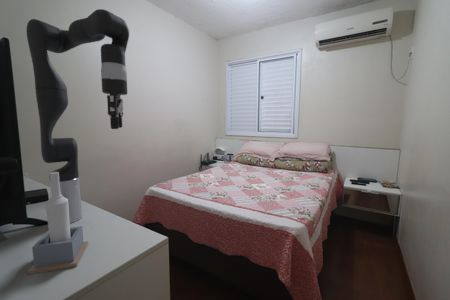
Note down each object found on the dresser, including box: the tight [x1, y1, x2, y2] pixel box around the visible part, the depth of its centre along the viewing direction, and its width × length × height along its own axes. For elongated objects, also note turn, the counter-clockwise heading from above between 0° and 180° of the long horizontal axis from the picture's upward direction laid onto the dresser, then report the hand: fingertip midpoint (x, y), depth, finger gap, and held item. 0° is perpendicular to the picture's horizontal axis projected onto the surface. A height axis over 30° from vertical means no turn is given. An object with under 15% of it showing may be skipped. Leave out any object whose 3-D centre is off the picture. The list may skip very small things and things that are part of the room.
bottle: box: [44, 171, 71, 243], centre depth 61 cm, size 5×5×25 cm
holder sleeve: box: [27, 226, 89, 275], centre depth 62 cm, size 11×11×7 cm
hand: (117, 128), depth 72 cm, fingers open, 8 cm apart
